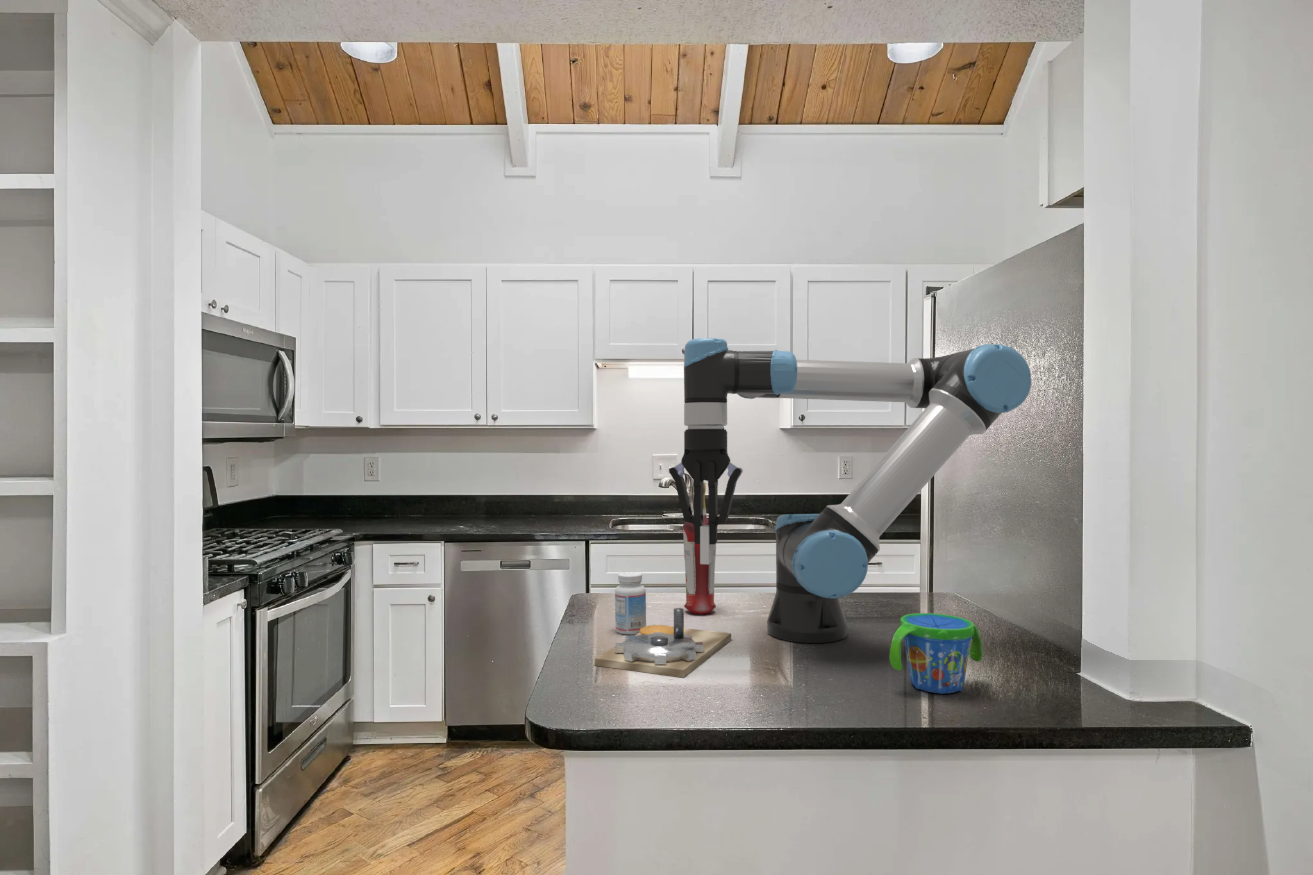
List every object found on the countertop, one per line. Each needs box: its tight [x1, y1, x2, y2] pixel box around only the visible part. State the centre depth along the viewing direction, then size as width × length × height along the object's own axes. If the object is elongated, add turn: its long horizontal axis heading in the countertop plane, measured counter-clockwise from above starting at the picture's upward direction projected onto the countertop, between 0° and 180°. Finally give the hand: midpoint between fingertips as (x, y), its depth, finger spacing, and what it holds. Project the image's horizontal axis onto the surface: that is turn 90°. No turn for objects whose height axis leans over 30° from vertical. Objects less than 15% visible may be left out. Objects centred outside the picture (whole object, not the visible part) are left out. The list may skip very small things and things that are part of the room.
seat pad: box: [640, 624, 674, 635], centre depth 142 cm, size 7×7×1 cm
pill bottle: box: [614, 571, 647, 636], centre depth 147 cm, size 6×6×11 cm
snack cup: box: [888, 612, 984, 695], centre depth 114 cm, size 16×10×10 cm
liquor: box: [682, 482, 717, 616], centre depth 163 cm, size 7×7×28 cm
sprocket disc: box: [614, 607, 703, 664], centre depth 129 cm, size 15×15×6 cm
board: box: [594, 627, 732, 678], centre depth 133 cm, size 16×24×1 cm, turn 156°
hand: (705, 562), depth 132 cm, fingers closed
